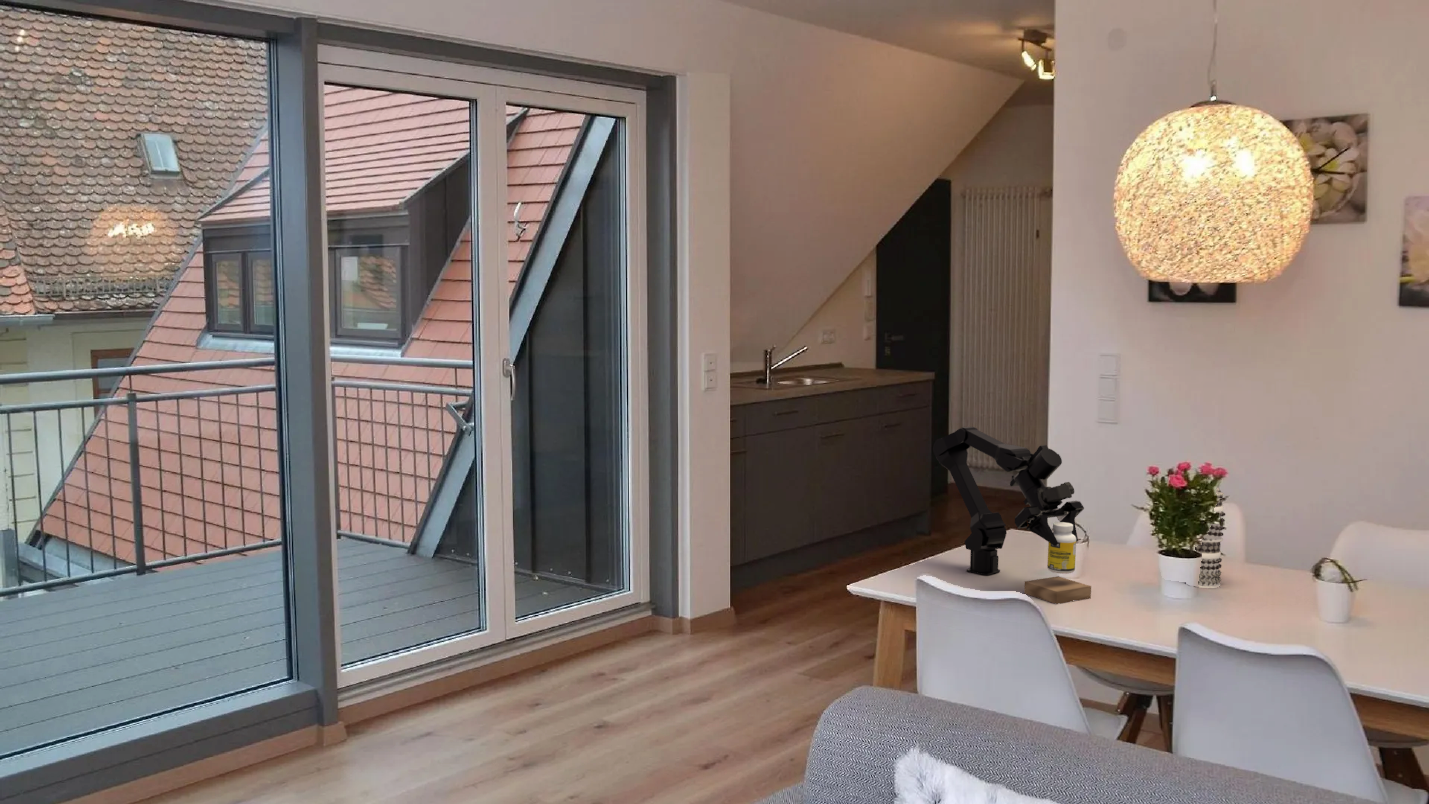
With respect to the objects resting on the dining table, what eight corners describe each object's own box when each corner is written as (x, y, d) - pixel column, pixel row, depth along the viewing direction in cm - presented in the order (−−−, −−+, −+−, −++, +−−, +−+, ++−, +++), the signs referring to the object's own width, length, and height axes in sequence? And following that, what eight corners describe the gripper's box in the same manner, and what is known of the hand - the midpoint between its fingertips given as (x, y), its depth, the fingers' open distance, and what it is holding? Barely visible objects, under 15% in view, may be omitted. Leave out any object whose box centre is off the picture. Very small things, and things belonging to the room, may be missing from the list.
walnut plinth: (1024, 593, 295) (1024, 581, 294) (1057, 588, 300) (1058, 576, 300) (1056, 604, 285) (1057, 591, 285) (1090, 598, 290) (1091, 586, 290)
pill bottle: (1042, 570, 292) (1043, 523, 291) (1056, 566, 297) (1058, 520, 296) (1066, 575, 288) (1067, 528, 286) (1080, 571, 292) (1082, 524, 291)
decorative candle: (1192, 589, 299) (1196, 489, 297) (1176, 579, 308) (1181, 483, 306) (1228, 588, 299) (1233, 489, 297) (1212, 579, 309) (1216, 483, 306)
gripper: (1024, 474, 288) (1057, 528, 280) (1080, 468, 298) (1113, 520, 289) (1000, 501, 296) (1031, 554, 288) (1054, 494, 305) (1086, 546, 297)
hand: (1066, 543), depth 290 cm, fingers closed on pill bottle, 6 cm apart
